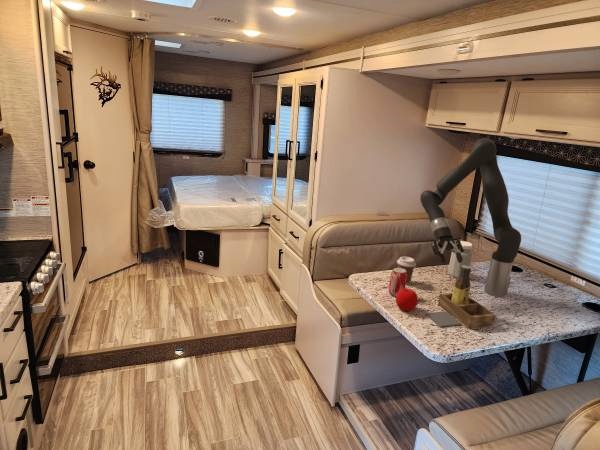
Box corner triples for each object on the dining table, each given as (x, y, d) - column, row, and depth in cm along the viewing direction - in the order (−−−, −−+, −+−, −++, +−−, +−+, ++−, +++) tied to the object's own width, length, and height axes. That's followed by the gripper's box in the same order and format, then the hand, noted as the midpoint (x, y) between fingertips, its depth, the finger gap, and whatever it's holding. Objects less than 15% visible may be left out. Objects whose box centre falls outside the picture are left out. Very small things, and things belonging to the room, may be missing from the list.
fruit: (398, 301, 173) (401, 280, 170) (418, 307, 169) (422, 286, 166) (391, 309, 166) (394, 288, 163) (412, 316, 161) (416, 294, 158)
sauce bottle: (463, 314, 166) (472, 271, 160) (448, 310, 169) (456, 267, 163) (466, 308, 171) (475, 266, 165) (451, 304, 174) (460, 262, 168)
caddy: (460, 302, 177) (462, 292, 175) (493, 326, 158) (495, 315, 157) (437, 304, 173) (439, 294, 172) (468, 328, 155) (470, 317, 153)
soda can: (404, 298, 176) (408, 274, 173) (388, 296, 177) (391, 271, 174) (403, 292, 183) (407, 268, 179) (388, 289, 184) (391, 265, 180)
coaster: (445, 312, 166) (446, 311, 166) (461, 325, 157) (461, 323, 157) (425, 314, 164) (425, 313, 163) (439, 327, 154) (440, 325, 154)
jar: (444, 271, 211) (450, 239, 206) (461, 271, 212) (468, 240, 207) (453, 279, 201) (459, 246, 196) (470, 279, 203) (478, 246, 197)
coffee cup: (403, 276, 200) (406, 254, 197) (416, 283, 193) (420, 261, 189) (390, 279, 196) (393, 256, 192) (403, 286, 188) (407, 263, 185)
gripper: (432, 226, 174) (443, 259, 167) (459, 225, 178) (471, 258, 171) (423, 233, 181) (433, 266, 174) (449, 233, 185) (461, 265, 178)
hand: (452, 262), depth 172 cm, fingers open, 8 cm apart
